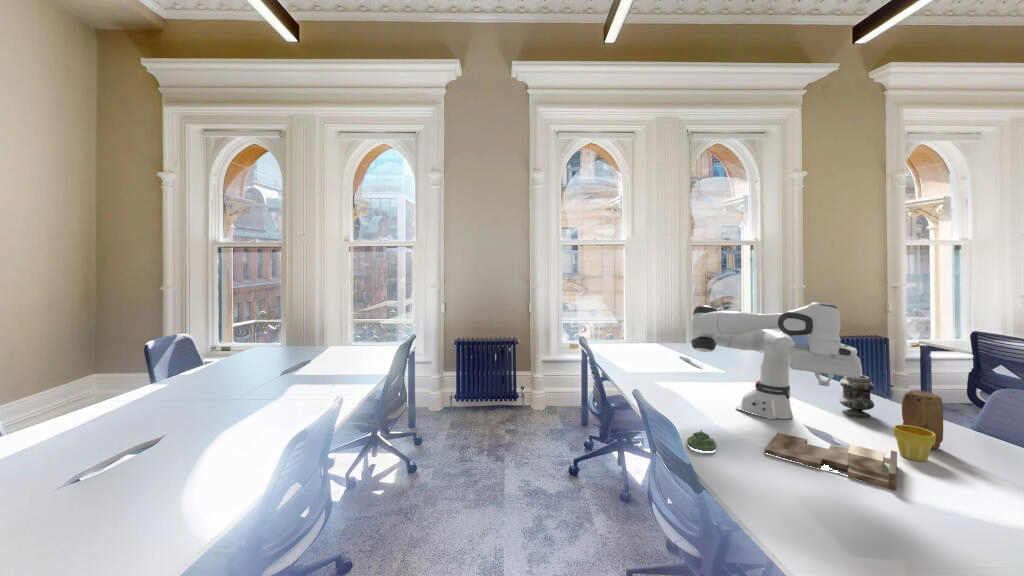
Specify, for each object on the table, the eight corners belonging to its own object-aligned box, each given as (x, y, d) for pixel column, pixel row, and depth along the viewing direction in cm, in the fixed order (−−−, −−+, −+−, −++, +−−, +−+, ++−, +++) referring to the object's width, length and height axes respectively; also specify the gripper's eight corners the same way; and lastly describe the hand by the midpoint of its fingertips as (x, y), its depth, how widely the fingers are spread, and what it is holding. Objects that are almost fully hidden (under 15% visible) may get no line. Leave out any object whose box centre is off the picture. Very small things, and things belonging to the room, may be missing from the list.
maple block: (847, 464, 128) (847, 452, 128) (850, 455, 134) (850, 444, 134) (882, 473, 122) (882, 461, 122) (884, 464, 128) (884, 452, 128)
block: (945, 451, 140) (946, 397, 139) (922, 450, 141) (923, 396, 140) (919, 438, 151) (919, 388, 150) (897, 437, 152) (898, 387, 151)
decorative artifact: (711, 457, 140) (719, 447, 147) (711, 438, 140) (719, 429, 147) (683, 448, 147) (692, 440, 154) (683, 430, 146) (692, 423, 154)
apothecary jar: (870, 412, 179) (870, 374, 178) (877, 421, 169) (877, 380, 168) (836, 408, 185) (837, 371, 185) (841, 416, 175) (841, 377, 174)
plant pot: (922, 452, 139) (922, 426, 139) (943, 466, 130) (943, 437, 129) (886, 448, 143) (886, 422, 142) (904, 461, 133) (904, 434, 133)
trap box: (764, 454, 140) (764, 441, 140) (777, 437, 155) (777, 424, 154) (895, 490, 116) (895, 474, 116) (896, 466, 130) (897, 451, 130)
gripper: (787, 345, 143) (787, 381, 144) (861, 352, 128) (860, 393, 129) (791, 342, 147) (791, 378, 148) (862, 349, 133) (862, 389, 133)
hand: (824, 385), depth 138 cm, fingers closed
